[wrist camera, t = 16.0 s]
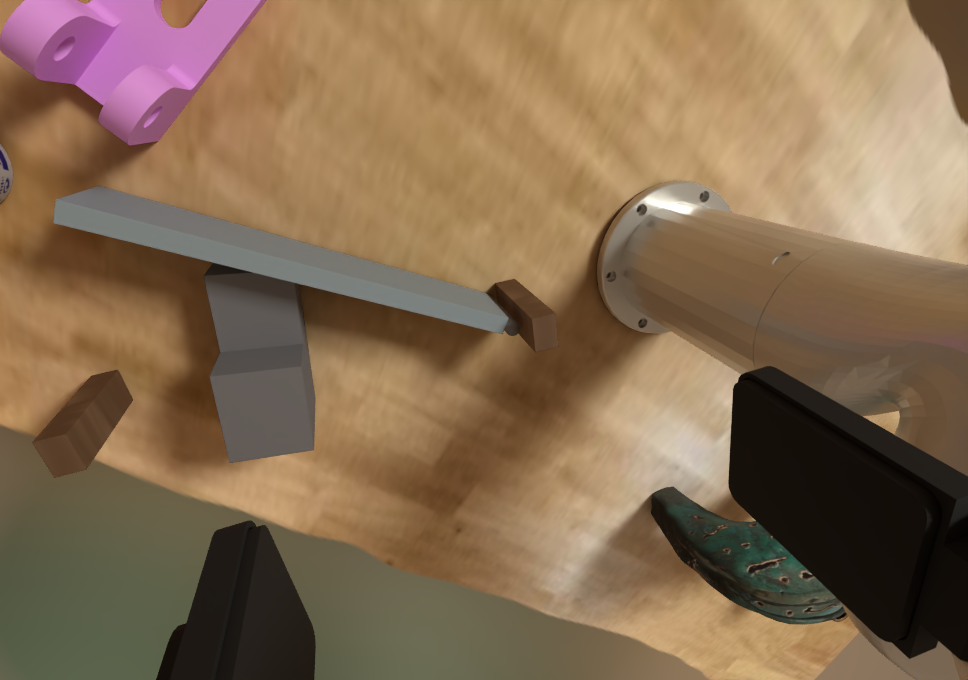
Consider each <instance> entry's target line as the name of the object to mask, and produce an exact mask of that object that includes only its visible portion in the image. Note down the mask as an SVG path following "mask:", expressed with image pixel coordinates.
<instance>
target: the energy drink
mask: <svg viewBox="0 0 968 680" xmlns="http://www.w3.org/2000/svg"><path fill="white" fill-rule="evenodd" d="M12 183H13V170H12V166H11V162H10V160H9V157H8V155H7V153H6V151H5V150H4V148H3V147H2V145H1V144H0V203H1V202H2V201H3V200H4V199H5V198H6V197H7V195H8V194H9V192H10V190H11V186H12Z"/></svg>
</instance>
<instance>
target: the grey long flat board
mask: <svg viewBox="0 0 968 680" xmlns="http://www.w3.org/2000/svg"><path fill="white" fill-rule="evenodd" d="M53 223H55V224H59V225H63V226H67V227H71V228H75V229H80V230H84V231H88V232H92V233H96V234H100V235H104V236H108V237H112V238H116V239H120V240H124V241H128V242H132V243H136V244H140V245H144V246H148V247H152V248H156V249H160V250H164V251H168V252H172V253H176V254H180V255H185V256H189V257H193V258H197V259H201V260H205V261H209V262H213V263H217V264H221V265H225V266H229V267H233V268H237V269H241V270H245V271H249V272H253V273H257V274H261V275H265V276H269V277H273V278H277V279H281V280H286V281H290V282H294V283H298V284H302V285H306V286H310V287H314V288H318V289H322V290H326V291H330V292H334V293H338V294H342V295H346V296H350V297H354V298H358V299H362V300H366V301H370V302H374V303H378V304H382V305H386V306H391V307H395V308H399V309H403V310H407V311H411V312H415V313H419V314H423V315H427V316H431V317H435V318H439V319H443V320H447V321H451V322H455V323H459V324H463V325H467V326H471V327H475V328H479V329H483V330H487V331H492V332H496V333H500V334H503V332H504V330H505V331H506V333H507V334H508V335H510V336H514V335H517V334H518V333H519V331H520V325H519V324H518V323H517V322H516V320H515V319H514V318H513V317H512V316H511V315H510V314H509V313H508V312H507V311H506V310H505V309H504V308H503V307H502V306H501V305H500V304H499V302H498V301H497V300H496V299H495V298H494V297H493V296H492V295H487V294H486V293H484V292H481V291H477V290H473V289H470V288H466V287H463V286H459V285H455V284H452V283H448V282H444V281H441V280H437V279H434V278H430V277H426V276H423V275H419V274H416V273H412V272H408V271H405V270H401V269H398V268H394V267H390V266H387V265H383V264H380V263H376V262H372V261H369V260H365V259H362V258H358V257H354V256H351V255H347V254H343V253H340V252H336V251H333V250H329V249H325V248H322V247H318V246H315V245H311V244H307V243H304V242H300V241H297V240H293V239H289V238H286V237H282V236H279V235H275V234H271V233H268V232H264V231H261V230H257V229H253V228H250V227H246V226H242V225H239V224H235V223H232V222H228V221H224V220H221V219H217V218H214V217H210V216H206V215H203V214H199V213H196V212H192V211H188V210H185V209H181V208H178V207H174V206H170V205H167V204H163V203H159V202H156V201H152V200H149V199H145V198H141V197H138V196H134V195H131V194H127V193H123V192H120V191H116V190H113V189H109V188H105V187H102V186H98V187H94V188H91V189H88V190H85V191H81V192H78V193H75V194H72V195H68V196H65V197H62V198H59V199H56V202H55V212H54V222H53Z"/></svg>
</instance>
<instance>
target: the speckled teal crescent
mask: <svg viewBox="0 0 968 680" xmlns="http://www.w3.org/2000/svg"><path fill="white" fill-rule="evenodd" d="M651 514H652V516H653V517H654V519H655V521H656V522H657V524H658V525H659V527H660V528H661V530H662V532H663V533H664V535H665V536H666V538H667V539H668V541H669V542H670V544H671V545H672V547H673V549H674V550H675V552H676V553H677V555H678V556H679V557H680V559H681V560H682V561H683V562H684V563H685V564H687V565H688V566H690V567H691V568H692V569H694V570H695V571H696V572H697V573H698V574H699V575H700V576H701V577H702V578H703V579H704V580H705V581H706V582H707V583H709V584H710V585H711V586H712V587H713V588H715V589H716V590H717V591H719V592H720V593H721V594H723V595H724V596H725V597H727V598H728V599H729V600H731V601H733V602H734V603H736V604H738V605H740V606H742V607H744V608H746V609H749V610H752V611H754V612H757V613H760V614H762V615H764V616H766V617H768V618H771V619H773V620H776V621H779V622H783V623H787V624H814V623H820V622H825V621H829V620H832V619H835V618H837V617H840V616H841V615H842V614H843V613H845V610H844V608H843V606H842V604H841V602H840V601H839V600H838V599H837V598H836V597H835V596H834V595H833V594H832V593H831V592H830V591H829V590H828V589H827V588H826V587H825V586H824V585H823V584H822V583H821V582H820V581H819V580H818V579H817V578H815V577H814V576H813V575H812V574H811V573H810V572H809V571H808V570H807V569H806V568H805V567H804V566H803V565H802V564H801V563H800V562H799V561H798V560H797V559H796V558H795V557H794V556H793V555H791V554H790V553H789V552H788V551H787V550H786V549H785V548H784V547H783V546H782V545H781V544H780V543H779V542H778V541H777V540H776V539H775V538H774V537H773V536H772V535H771V534H770V533H769V532H768V531H766V530H765V529H764V528H763V527H762V526H761V525H760V524H759V523H758V522H757V521H753V522H735V521H730V520H727V519H724V518H722V517H720V516H718V515H716V514H714V513H712V512H710V511H707V510H706V509H704V508H703V507H701V506H700V505H699V504H697V503H695V502H694V501H692V500H690V499H689V498H688V497H686V496H685V495H684V494H682V493H681V492H679V491H678V490H677V489H675V488H674V487H671V488H670V487H667V488H664V489H662V490H660V491H657V492H656V493H654V494H653V495H652V511H651Z"/></svg>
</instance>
